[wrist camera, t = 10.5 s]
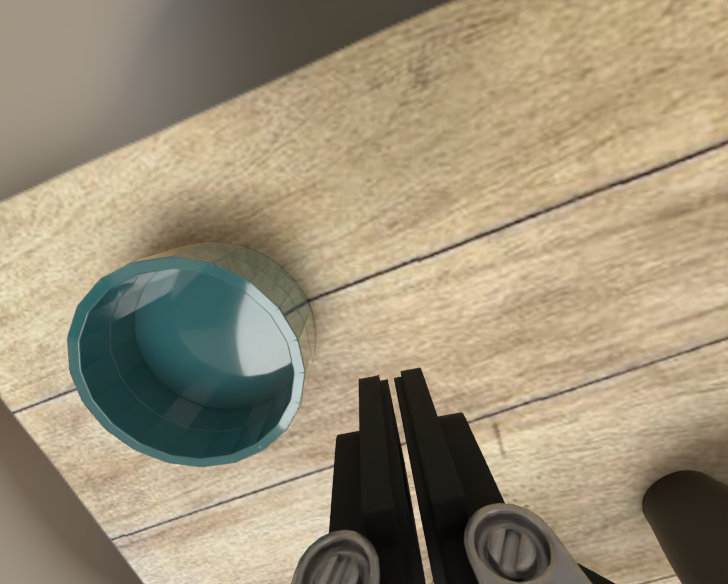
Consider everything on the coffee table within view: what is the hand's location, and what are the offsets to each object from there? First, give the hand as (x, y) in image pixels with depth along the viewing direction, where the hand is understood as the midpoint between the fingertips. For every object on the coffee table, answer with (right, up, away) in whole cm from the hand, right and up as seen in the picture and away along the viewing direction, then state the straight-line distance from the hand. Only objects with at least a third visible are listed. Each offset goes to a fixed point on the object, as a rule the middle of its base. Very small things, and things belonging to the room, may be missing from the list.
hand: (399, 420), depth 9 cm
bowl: (-10, +1, +13) cm, 16 cm away
